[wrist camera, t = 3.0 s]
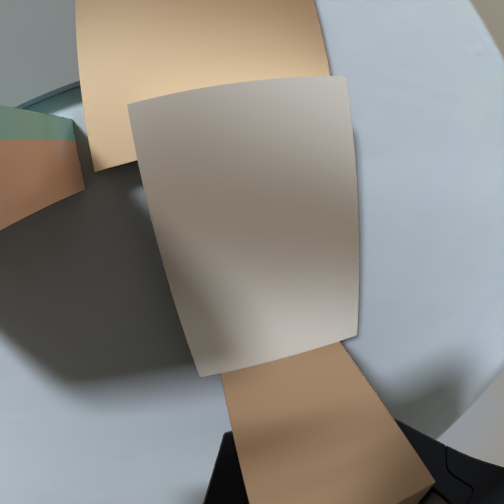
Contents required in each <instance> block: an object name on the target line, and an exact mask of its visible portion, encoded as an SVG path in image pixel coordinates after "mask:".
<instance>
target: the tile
mask: <svg viewBox="0 0 504 504" xmlns="http://www.w3.org/2000/svg"><path fill="white" fill-rule="evenodd" d="M84 189H85V185H84V180H83V176H82V171H81V166H80V161H79V156H78V151H77V145H76V139H75V133H74V127H73V121H72V119H68V118H64V117H59V116H55V115H50V114H45V113H40V112H35V111H30V110H24V109H19V108H13V107H7V106H1V105H0V230H2V229H4V228H6V227H8V226H9V225H11V224H13V223H15V222H17V221H19V220H21V219H23V218H25V217H27V216H29V215H31V214H33V213H35V212H37V211H39V210H41V209H43V208H45V207H47V206H49V205H51V204H53V203H55V202H58V201H60V200H62V199H64V198H66V197H69V196H71V195H73V194H75V193H78V192H80V191H82V190H84Z"/></svg>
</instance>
